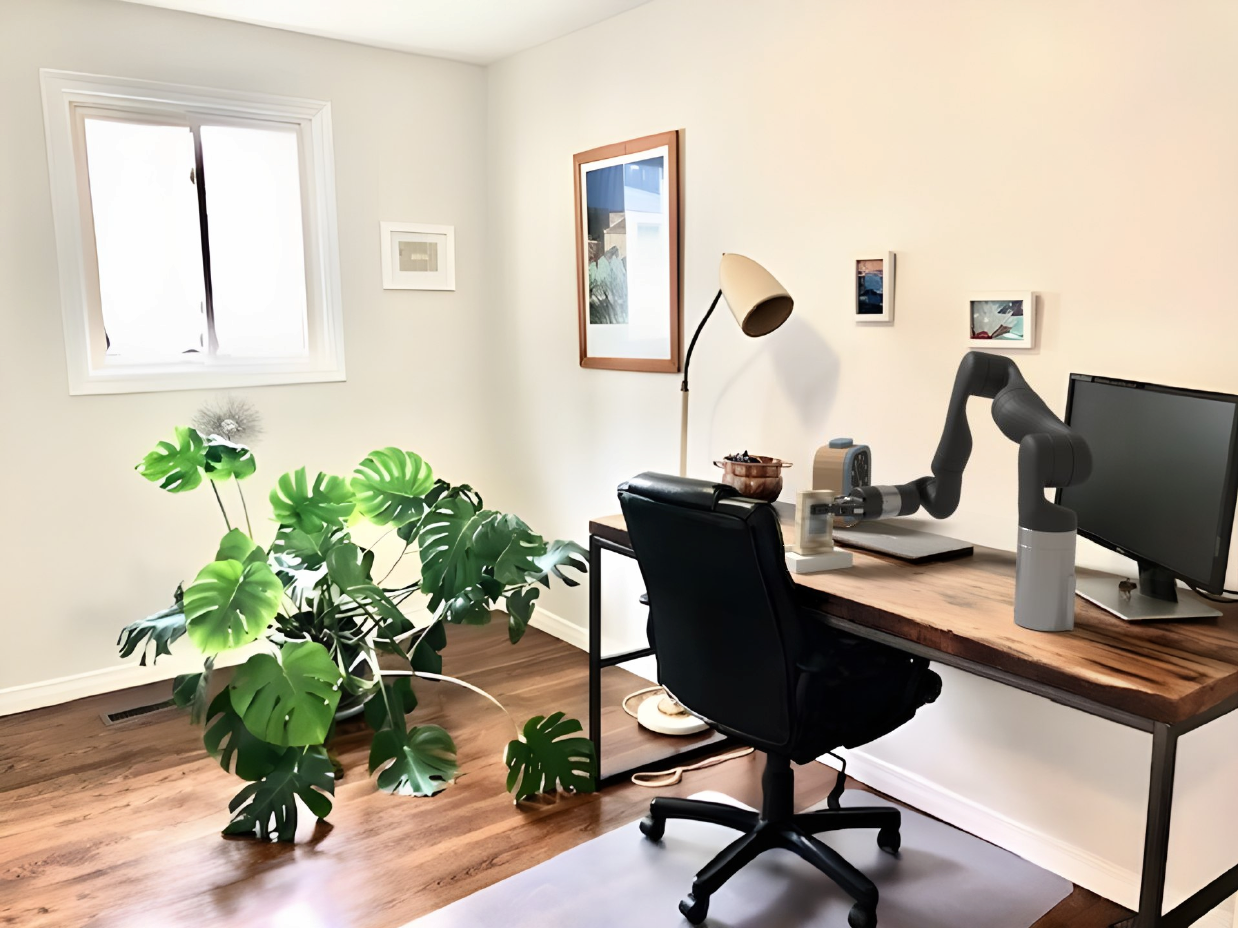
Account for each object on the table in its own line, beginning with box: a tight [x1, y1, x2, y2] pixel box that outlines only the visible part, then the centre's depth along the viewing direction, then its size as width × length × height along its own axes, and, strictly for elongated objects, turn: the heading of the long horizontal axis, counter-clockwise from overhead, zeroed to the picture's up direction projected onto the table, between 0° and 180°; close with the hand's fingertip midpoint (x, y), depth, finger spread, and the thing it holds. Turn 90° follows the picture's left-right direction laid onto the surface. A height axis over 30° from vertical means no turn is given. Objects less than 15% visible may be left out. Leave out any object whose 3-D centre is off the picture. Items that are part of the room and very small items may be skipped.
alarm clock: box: [811, 437, 872, 528], centre depth 250 cm, size 21×10×22 cm, turn 150°
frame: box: [791, 490, 835, 555], centre depth 206 cm, size 8×4×13 cm, turn 111°
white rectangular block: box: [785, 539, 854, 575], centre depth 207 cm, size 14×8×4 cm, turn 111°
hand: (807, 508), depth 205 cm, fingers closed on frame, 3 cm apart
